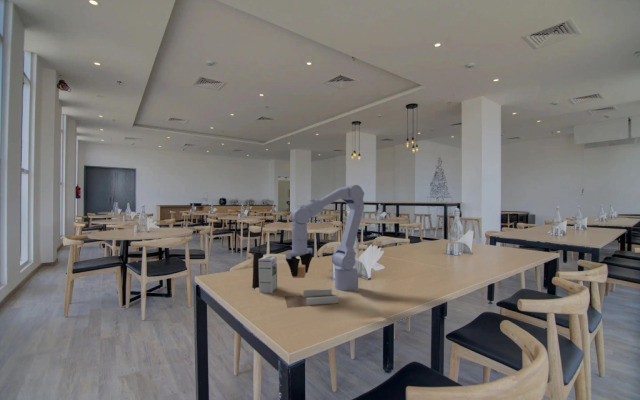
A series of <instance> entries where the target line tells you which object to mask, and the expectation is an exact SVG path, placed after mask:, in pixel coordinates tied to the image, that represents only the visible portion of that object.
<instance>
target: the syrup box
mask: <svg viewBox="0 0 640 400" xmlns="http://www.w3.org/2000/svg"><path fill="white" fill-rule="evenodd" d="M277 263H278V261H277V256H272V255H267V256H266V255H265V256H264V255H263V258H261V259H259V288H258V292H259V293H265V294H267V293H269V294H274V292H276V291H277V290H278V272H277V271H278V270H277V269H278V268H277V267H278V266H277Z"/></svg>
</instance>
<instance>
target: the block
mask: <svg viewBox="0 0 640 400" xmlns="http://www.w3.org/2000/svg"><path fill="white" fill-rule="evenodd" d="M306 275H307V273H306V265H302V264H299V265H298V274H297V276H296V277H295V276H292V278H295V279H298V278H300V279H301V278H302V279H305V277H306Z"/></svg>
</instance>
